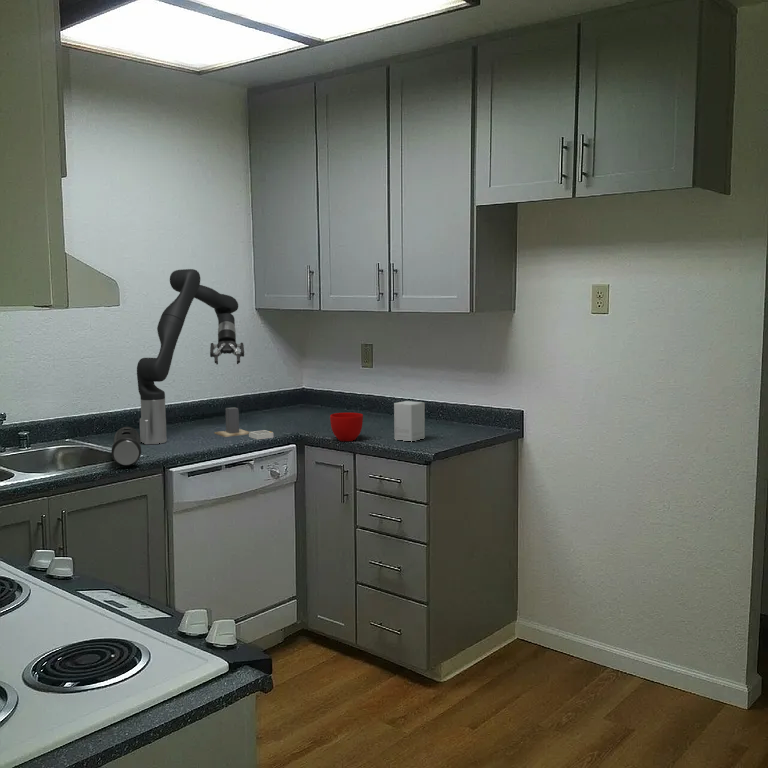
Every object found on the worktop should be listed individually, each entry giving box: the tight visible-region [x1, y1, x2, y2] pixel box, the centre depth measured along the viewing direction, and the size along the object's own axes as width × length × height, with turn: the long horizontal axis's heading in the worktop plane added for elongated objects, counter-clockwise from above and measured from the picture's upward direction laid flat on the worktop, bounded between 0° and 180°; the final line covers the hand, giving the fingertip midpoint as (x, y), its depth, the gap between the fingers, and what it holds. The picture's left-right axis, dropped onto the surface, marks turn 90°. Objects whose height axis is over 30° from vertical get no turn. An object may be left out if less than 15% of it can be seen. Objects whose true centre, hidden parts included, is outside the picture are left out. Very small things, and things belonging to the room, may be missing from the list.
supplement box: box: [393, 400, 426, 443], centre depth 322 cm, size 9×9×15 cm
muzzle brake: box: [111, 426, 142, 467], centre depth 285 cm, size 10×28×10 cm, turn 17°
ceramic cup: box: [329, 412, 364, 442], centre depth 325 cm, size 13×17×10 cm
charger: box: [225, 406, 240, 433], centre depth 336 cm, size 4×4×10 cm
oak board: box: [213, 428, 250, 438], centre depth 336 cm, size 12×10×1 cm
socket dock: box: [248, 429, 274, 440], centre depth 328 cm, size 7×7×3 cm
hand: (227, 363), depth 344 cm, fingers open, 8 cm apart
